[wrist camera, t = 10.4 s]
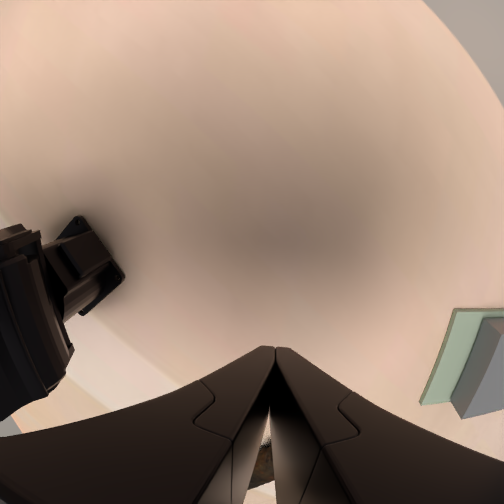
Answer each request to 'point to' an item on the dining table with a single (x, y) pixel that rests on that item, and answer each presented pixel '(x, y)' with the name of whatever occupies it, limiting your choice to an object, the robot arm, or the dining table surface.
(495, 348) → the gray rectangular block
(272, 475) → the hand tool
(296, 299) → the dining table surface
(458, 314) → the mat
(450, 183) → the dining table surface
